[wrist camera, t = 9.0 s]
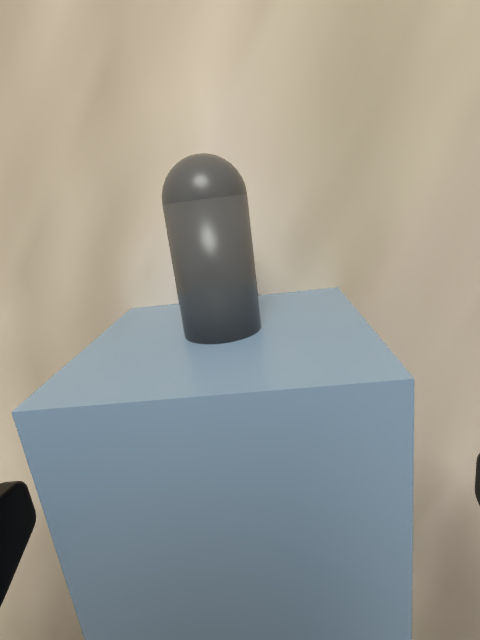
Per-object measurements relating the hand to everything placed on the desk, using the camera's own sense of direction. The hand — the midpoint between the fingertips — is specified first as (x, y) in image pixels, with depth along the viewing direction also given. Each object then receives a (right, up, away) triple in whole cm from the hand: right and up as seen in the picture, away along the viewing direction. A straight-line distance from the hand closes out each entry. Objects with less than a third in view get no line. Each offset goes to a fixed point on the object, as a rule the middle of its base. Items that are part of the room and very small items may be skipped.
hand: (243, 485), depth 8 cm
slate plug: (0, +1, +3) cm, 3 cm away
